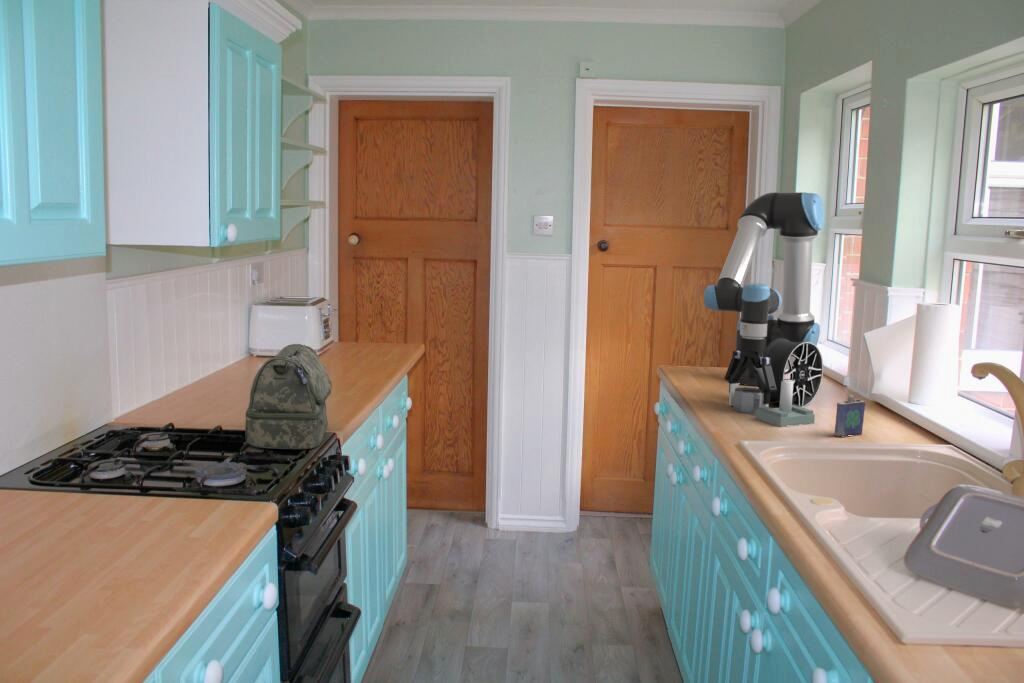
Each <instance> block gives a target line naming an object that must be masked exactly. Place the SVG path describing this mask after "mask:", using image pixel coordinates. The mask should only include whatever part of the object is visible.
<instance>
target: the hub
mask: <svg viewBox="0 0 1024 683" xmlns="http://www.w3.org/2000/svg"><path fill="white" fill-rule="evenodd" d="M761 391H762V390H760V389H759V388H758V387H757V388H754V387H747V386H745V387H743V386H742V387H739V388H736V389H735V393H734V405H733V411H735V412H737V413H740V412H741V413H742V414H751V415H754V414H755V415H756V410H758V407H759V404H760V392H761ZM741 413H740V414H741Z"/></svg>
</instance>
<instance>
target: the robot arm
mask: <svg viewBox="0 0 1024 683" xmlns="http://www.w3.org/2000/svg"><path fill="white" fill-rule="evenodd" d="M824 225H825V207H824V203H823V200H822V198H821V196H820V195H819V194H818V193H815V192H814V193H813V192H804V191H803V192H801V191H800V192H799V191H798V192H768V193H765V194H762V195H760V196H758V197H757V198H755V199H754V200H752V202H750V204H748V205H747V206H746V208H745V209H743V211H742V212H741V214H740V216H739V218H738V221H737V226H736V227H737V232H736V234H735V237H734V239H733V241H732V242H733V243H732V244H731V247H730V249H729V252H728V255H727V257H726V260H725V262H724V265H723V267H722V270H721V272H720V275H719V277H718V279H717V283H716V284H712V285H711V284H710V285H707V287H705V289H704V292H703V304H704V306H705V308H706V309H708V310H712V311H721V312H735V313H736V312H737V313H740V318H739V319H738V321H737V327H736V328H737V329H736V330H735V331H736V339H735V340H736V341H735V342H736V343H735V350H733V351H732V356H731V357H732V358H731V359H730V363H729V365H728V368H727V371H726V372H725V375H724V380H725V381H728V383H729V384H728V385H729V386H728V388H729V389H728V393H729V398H728V406H734V393H735V389H736V388H740V385H742V384H746V385H745V386H750V385H754V386H753V387H758V383H757V379H758V382H759V384H760V386H761V389H762V391H761V392H760V404H759V406H766V407H769V404H771V402H770V395H771V392H774V391H777V388H776V384H775V380H774V375H773V371H772V367H771V358H770V357H763V352H764V351H765V350H766V347H767V346H768V345H769V344H770V343H771V342H772V341H773V340H775V339H778V338H784V339H787V340H789V341H790V342H797V343H798V342H801V341H807V342H811V343H813V344H815V345H816V346H817V347H818V342H819V338H820V334H821V332H820V331H821V326H820V324H819V323H818V322H815V316H814V314H813V313H811V287H812V266H813V265H812V264H813V259H812V258H813V241H814V239H815V238H816V237H818V235H819V231H821V230H823V228H824ZM770 229H772V230H774V229H775V230H779V237H781V238H782V239H783V241H784V249H783V250H784V251H783V279H782V280H783V283H782V284H783V285H782V289H783V290H782V295H781V293H780V292H779V291H778V290H776V289H775V288H771V287H770V285H769V284H767V283H744V282H745V279H746V277H747V274H748V273H749V270H750V267H751V264H752V261H753V259H754V257H755V254H756V251H757V249H758V246H759V244H760V241H761V238H762V237H764V236H765V235H766V234H767V231H768V230H770ZM781 307H782V311H781V313H780V314H778V315H777V319H774V315H772V314H773V313H775V312H777V311H778V310H780V308H781ZM792 354H794V355H795V356H796V353H795V351H793V353H792ZM790 357H793V356H792V355H791V356H790ZM738 383H740V384H738Z"/></svg>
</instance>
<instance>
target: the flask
mask: <svg viewBox="0 0 1024 683" xmlns="http://www.w3.org/2000/svg"><path fill="white" fill-rule="evenodd" d="M846 397H847V398H846V401H845V400H844V401H839V402H837V403H836V413H835V425H834V433H833V434H834V436H836V437H837V436H848V435H855V436H862V435H863V427H864V426H863V425H864V421H865V419H864V417H865V416H864V415H865V408H866V401H865V400H862V399H858V398H856V399H855V398H854V397H855V396H854V395H853V394H847V395H846ZM861 434H862V435H861Z"/></svg>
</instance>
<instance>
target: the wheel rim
mask: <svg viewBox="0 0 1024 683" xmlns="http://www.w3.org/2000/svg"><path fill="white" fill-rule="evenodd" d="M793 351H795V353H796V356H795V355H794V354H792V353H793ZM791 355H792V356H791ZM763 357H770V358H771V367H772V371H773V375H774V380H775V384H776V388H777V391H774V392H771V395H770V403H780V393H781V381H790V382H793V396H792V405H795V406H799V407H803V408H805V407H807V406H809V405H810V404H811V402H813V400H814V399H815V398H816V397H817V394H818V392H819V390H820V387H821V385H822V381H823V375H824V360H823V356H822V353H821V351H820V349H819V347H818V345H817V346H816V345H815V344H813V343H811V342H807V341H801V342H798V343H797V342H790V341H789V340H787V339H784V338H778V339H775V340H773V341H772V342H771V343H770V344H769V345H768V346H767V347H766V350H765V351H764V352H763ZM791 357H793V358H795V359H794V361H793V363H792V364H793V365H792V364H791V359H790V358H791ZM787 365H788V367H789V369H788V370H787V371H786V369H787ZM789 375H790V376H789ZM786 376H789V377H790V378H789V379H788V378H785V377H786ZM757 383H758V386H757V389H760V390H762V389H761V386H760V384H759V382H758V379H757Z"/></svg>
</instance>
